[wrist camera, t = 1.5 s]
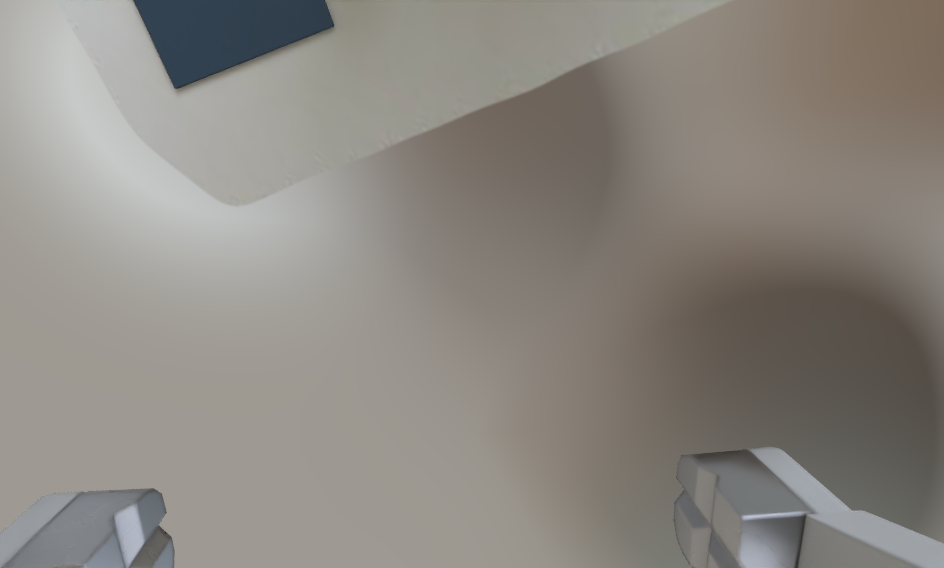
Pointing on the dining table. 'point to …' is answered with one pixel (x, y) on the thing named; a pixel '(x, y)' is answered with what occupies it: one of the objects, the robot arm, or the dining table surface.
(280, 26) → the mat
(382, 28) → the dining table surface
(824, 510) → the robot arm
